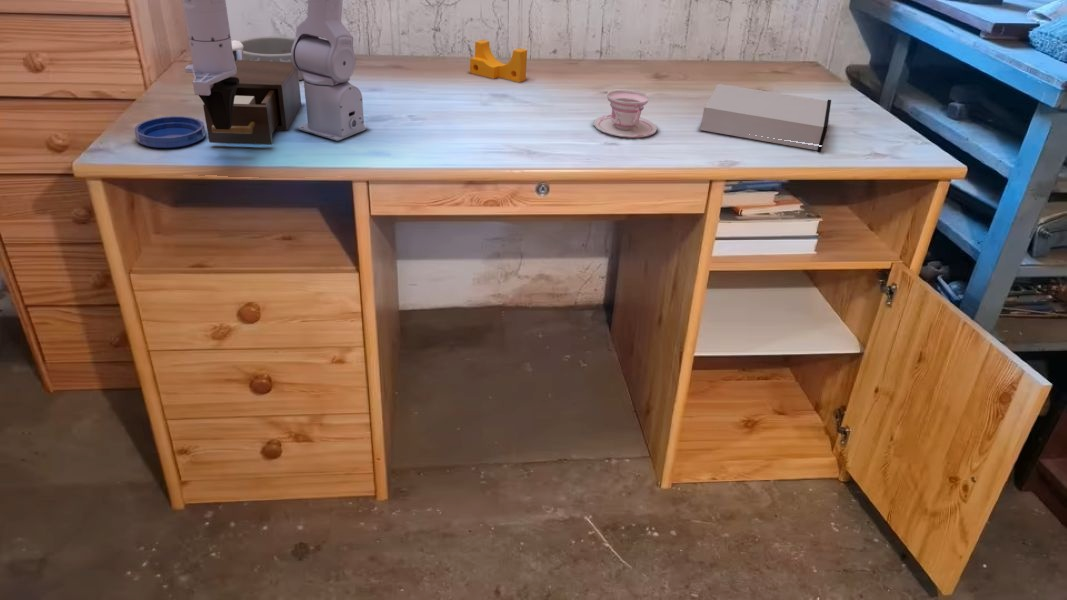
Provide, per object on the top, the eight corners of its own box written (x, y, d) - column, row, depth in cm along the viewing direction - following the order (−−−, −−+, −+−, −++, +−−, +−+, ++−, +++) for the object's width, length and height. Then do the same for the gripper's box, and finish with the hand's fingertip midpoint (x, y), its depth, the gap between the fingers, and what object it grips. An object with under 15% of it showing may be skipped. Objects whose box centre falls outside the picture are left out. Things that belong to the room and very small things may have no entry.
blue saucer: (219, 136, 133) (217, 125, 132) (166, 154, 125) (164, 142, 124) (176, 123, 137) (174, 112, 136) (122, 140, 129) (120, 128, 128)
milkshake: (216, 89, 154) (208, 37, 149) (237, 82, 158) (229, 32, 153) (233, 93, 152) (226, 41, 147) (253, 87, 157) (247, 35, 151)
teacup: (582, 120, 151) (586, 88, 148) (636, 115, 155) (640, 84, 152) (612, 141, 142) (616, 108, 139) (668, 135, 146) (673, 103, 143)
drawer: (266, 153, 126) (261, 114, 122) (202, 151, 125) (195, 112, 121) (286, 118, 140) (283, 83, 136) (230, 116, 139) (224, 81, 136)
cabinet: (286, 130, 137) (281, 84, 133) (221, 128, 136) (214, 82, 132) (301, 105, 149) (297, 62, 145) (241, 102, 148) (235, 59, 144)
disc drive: (821, 152, 143) (828, 126, 141) (699, 131, 149) (704, 105, 147) (825, 124, 158) (832, 100, 155) (714, 106, 164) (718, 82, 161)
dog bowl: (280, 54, 177) (278, 30, 175) (336, 71, 169) (334, 46, 166) (215, 68, 165) (211, 43, 162) (271, 88, 157) (268, 61, 154)
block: (231, 120, 134) (227, 95, 132) (257, 121, 134) (254, 96, 132) (224, 129, 130) (220, 103, 128) (251, 130, 131) (248, 104, 128)
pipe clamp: (469, 72, 174) (470, 43, 171) (481, 69, 177) (482, 39, 174) (514, 83, 169) (516, 53, 165) (525, 79, 172) (527, 50, 169)
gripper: (195, 23, 118) (210, 111, 125) (163, 48, 106) (181, 144, 113) (243, 26, 119) (255, 113, 126) (217, 50, 106) (231, 145, 114)
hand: (223, 127), depth 119 cm, fingers closed
